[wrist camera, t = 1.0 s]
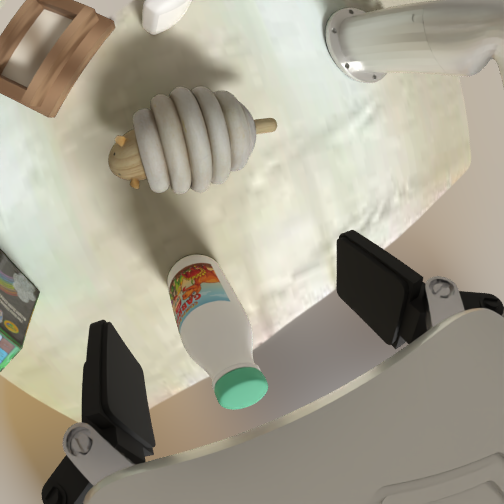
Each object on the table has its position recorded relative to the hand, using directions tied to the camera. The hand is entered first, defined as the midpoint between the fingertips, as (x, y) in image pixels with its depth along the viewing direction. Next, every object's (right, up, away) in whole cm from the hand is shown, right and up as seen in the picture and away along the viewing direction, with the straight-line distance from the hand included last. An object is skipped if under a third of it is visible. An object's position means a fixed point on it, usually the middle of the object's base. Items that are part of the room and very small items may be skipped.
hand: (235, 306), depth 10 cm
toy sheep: (-7, +15, +19) cm, 26 cm away
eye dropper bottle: (-9, +28, +11) cm, 32 cm away
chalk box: (-34, -3, +17) cm, 38 cm away
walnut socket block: (-22, +24, +8) cm, 33 cm away
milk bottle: (-7, -1, +28) cm, 29 cm away
